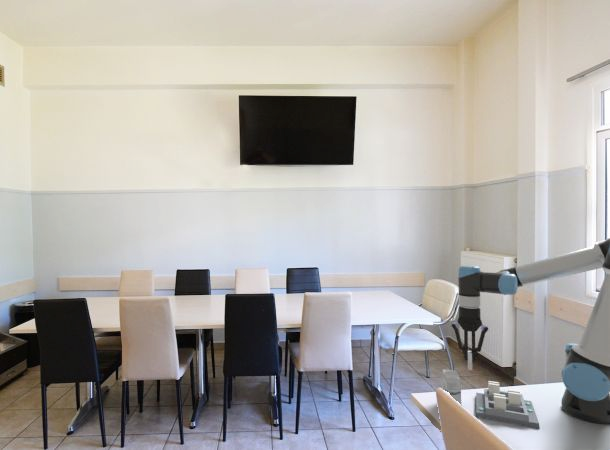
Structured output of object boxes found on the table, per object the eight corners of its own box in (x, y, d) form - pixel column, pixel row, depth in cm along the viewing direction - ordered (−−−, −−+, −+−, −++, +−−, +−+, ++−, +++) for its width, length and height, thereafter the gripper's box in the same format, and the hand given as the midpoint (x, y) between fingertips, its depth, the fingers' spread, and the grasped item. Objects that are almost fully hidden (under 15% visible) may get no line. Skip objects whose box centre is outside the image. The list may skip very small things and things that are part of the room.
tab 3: (519, 406, 125) (519, 390, 125) (521, 411, 122) (520, 394, 122) (508, 405, 126) (507, 388, 126) (509, 409, 123) (508, 392, 124)
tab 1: (499, 397, 132) (498, 382, 133) (499, 401, 129) (499, 385, 130) (488, 395, 134) (488, 380, 134) (489, 399, 131) (488, 383, 131)
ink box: (462, 413, 124) (461, 378, 125) (447, 411, 125) (446, 377, 126) (456, 401, 133) (455, 369, 133) (442, 400, 134) (441, 369, 134)
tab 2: (505, 411, 122) (505, 394, 122) (506, 415, 119) (505, 398, 119) (494, 409, 123) (493, 392, 124) (494, 413, 120) (494, 396, 121)
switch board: (531, 405, 129) (531, 395, 129) (539, 428, 114) (538, 417, 114) (476, 396, 137) (476, 387, 137) (476, 416, 121) (476, 406, 122)
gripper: (488, 306, 137) (488, 368, 136) (451, 303, 142) (452, 363, 142) (489, 310, 130) (489, 375, 129) (450, 306, 135) (450, 369, 135)
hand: (470, 368), depth 135 cm, fingers closed
